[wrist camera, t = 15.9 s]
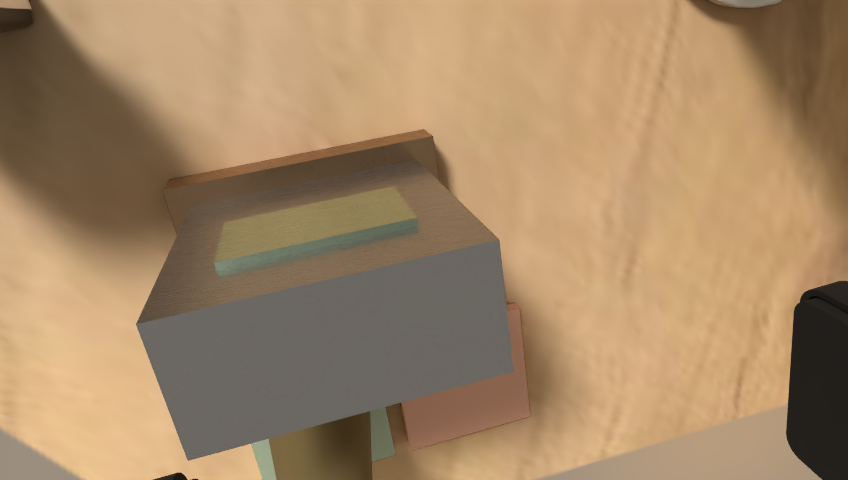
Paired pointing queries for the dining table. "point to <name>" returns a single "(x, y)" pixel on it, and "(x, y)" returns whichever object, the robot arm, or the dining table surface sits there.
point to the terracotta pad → (472, 400)
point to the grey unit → (320, 293)
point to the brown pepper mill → (325, 451)
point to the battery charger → (15, 15)
